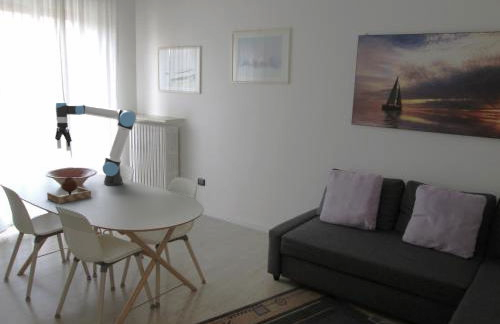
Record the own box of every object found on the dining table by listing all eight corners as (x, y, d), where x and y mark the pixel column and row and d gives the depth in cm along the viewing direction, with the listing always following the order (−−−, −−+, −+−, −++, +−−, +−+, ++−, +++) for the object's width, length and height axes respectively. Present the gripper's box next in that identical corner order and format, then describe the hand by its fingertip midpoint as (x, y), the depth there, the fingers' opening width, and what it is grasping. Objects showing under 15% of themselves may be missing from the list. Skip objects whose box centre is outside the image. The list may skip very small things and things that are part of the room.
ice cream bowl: (58, 197, 297) (57, 177, 294) (71, 194, 307) (70, 175, 304) (68, 200, 292) (67, 179, 289) (81, 196, 302) (80, 176, 299)
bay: (78, 192, 314) (78, 186, 313) (91, 197, 304) (90, 190, 303) (47, 199, 295) (47, 192, 294) (59, 204, 285) (59, 197, 284)
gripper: (49, 121, 319) (51, 148, 323) (66, 123, 304) (67, 151, 308) (58, 120, 325) (60, 147, 329) (75, 123, 310) (77, 150, 314)
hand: (63, 149), depth 319 cm, fingers open, 13 cm apart
